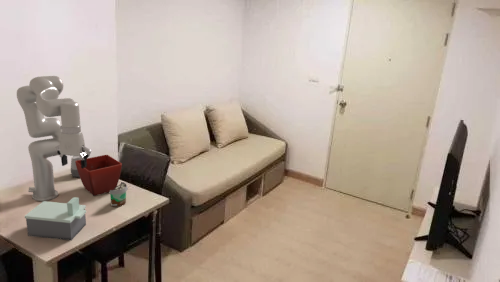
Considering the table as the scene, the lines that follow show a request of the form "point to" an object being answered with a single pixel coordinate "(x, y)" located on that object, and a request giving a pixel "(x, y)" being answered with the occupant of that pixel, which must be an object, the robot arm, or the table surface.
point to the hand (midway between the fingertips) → (74, 166)
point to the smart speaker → (74, 166)
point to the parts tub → (55, 228)
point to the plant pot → (99, 174)
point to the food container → (118, 195)
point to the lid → (58, 211)
